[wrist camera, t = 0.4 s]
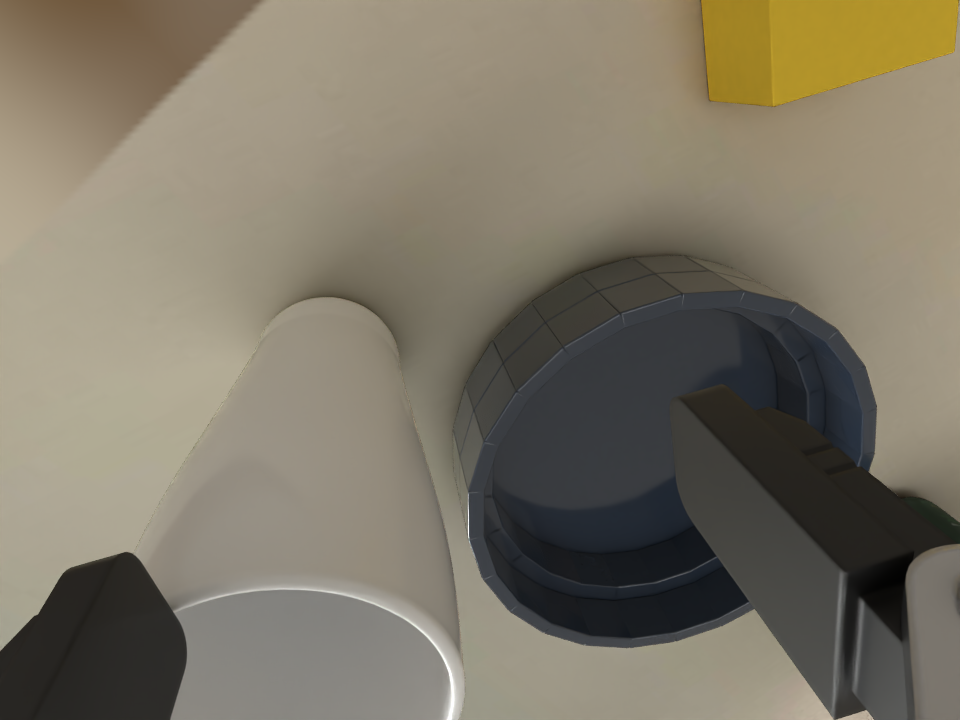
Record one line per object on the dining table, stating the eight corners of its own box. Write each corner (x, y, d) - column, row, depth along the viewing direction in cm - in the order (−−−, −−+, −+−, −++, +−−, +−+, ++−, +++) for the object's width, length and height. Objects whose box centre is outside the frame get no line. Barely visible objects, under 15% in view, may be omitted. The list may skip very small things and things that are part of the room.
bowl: (402, 321, 24) (410, 377, 20) (792, 200, 25) (885, 230, 20) (500, 604, 31) (522, 693, 27) (799, 506, 32) (870, 577, 28)
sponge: (697, -41, 21) (767, -65, 17) (866, -90, 21) (970, -124, 17) (708, 101, 23) (773, 107, 19) (862, 55, 23) (955, 52, 19)
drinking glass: (200, 360, 23) (-23, 757, 10) (321, 234, 22) (246, 501, 9) (337, 458, 26) (304, 869, 13) (452, 352, 25) (545, 688, 12)
